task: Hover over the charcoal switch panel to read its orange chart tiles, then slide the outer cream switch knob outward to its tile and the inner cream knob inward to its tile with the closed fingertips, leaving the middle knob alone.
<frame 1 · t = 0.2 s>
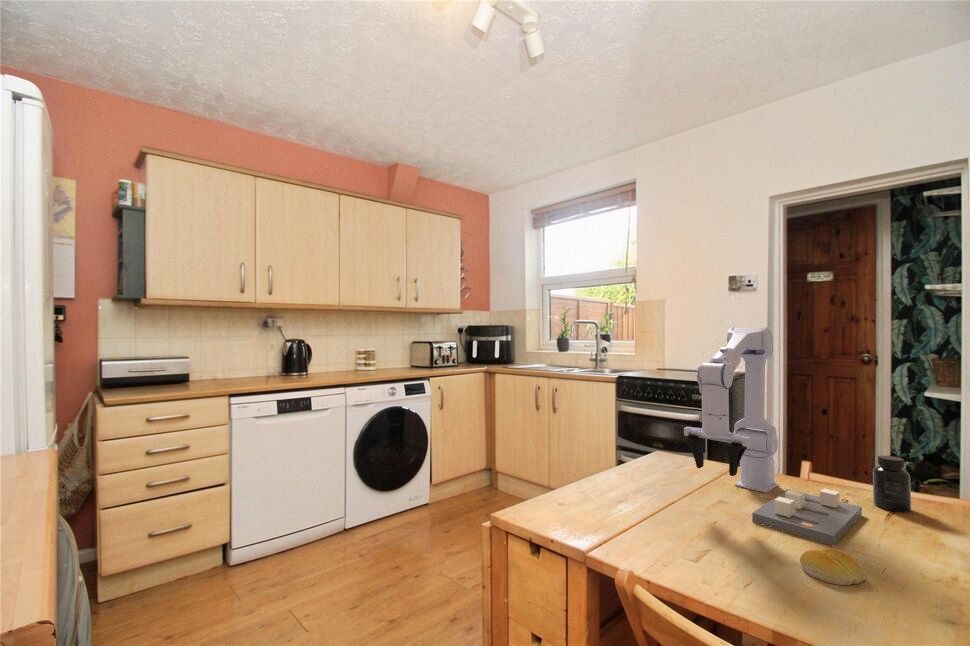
hand: (716, 471, 107), 10 cm above the table, tool pointing down, fingers open, 7 cm apart
switch panel: (807, 518, 104), on the table
bread roll: (831, 575, 81), on the table
supplement bottle: (891, 508, 110), on the table
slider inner: (829, 498, 107), point 4 cm above the table, slide at 5.0 cm
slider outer: (784, 506, 102), point 4 cm above the table, slide at 0.0 cm
slider middle: (794, 499, 106), point 4 cm above the table, slide at 0.0 cm
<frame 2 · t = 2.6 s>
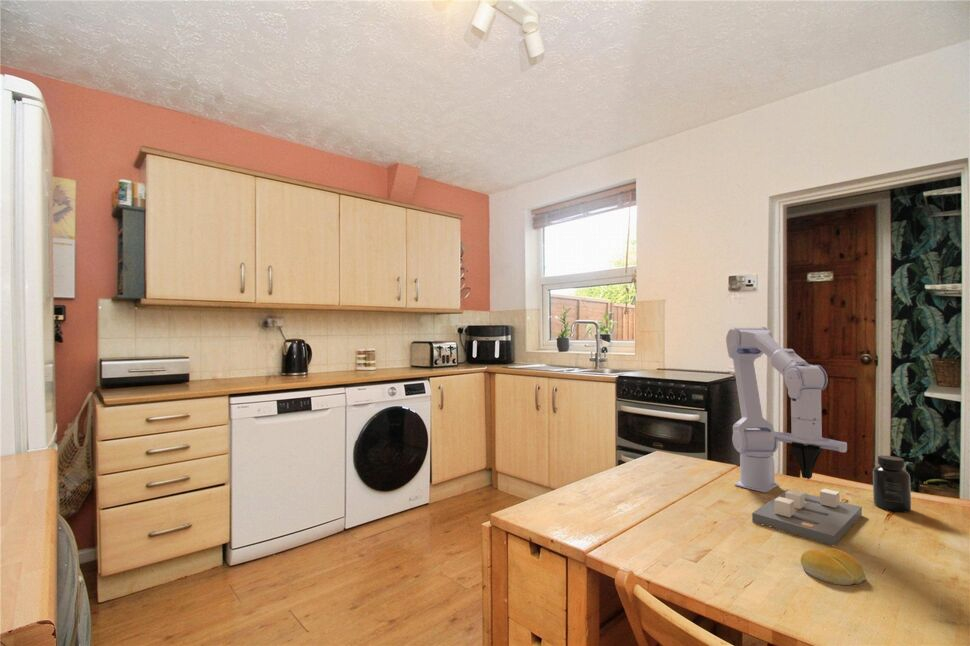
hand: (807, 477, 104), 9 cm above the table, tool pointing down, fingers closed
nothing on the table moved.
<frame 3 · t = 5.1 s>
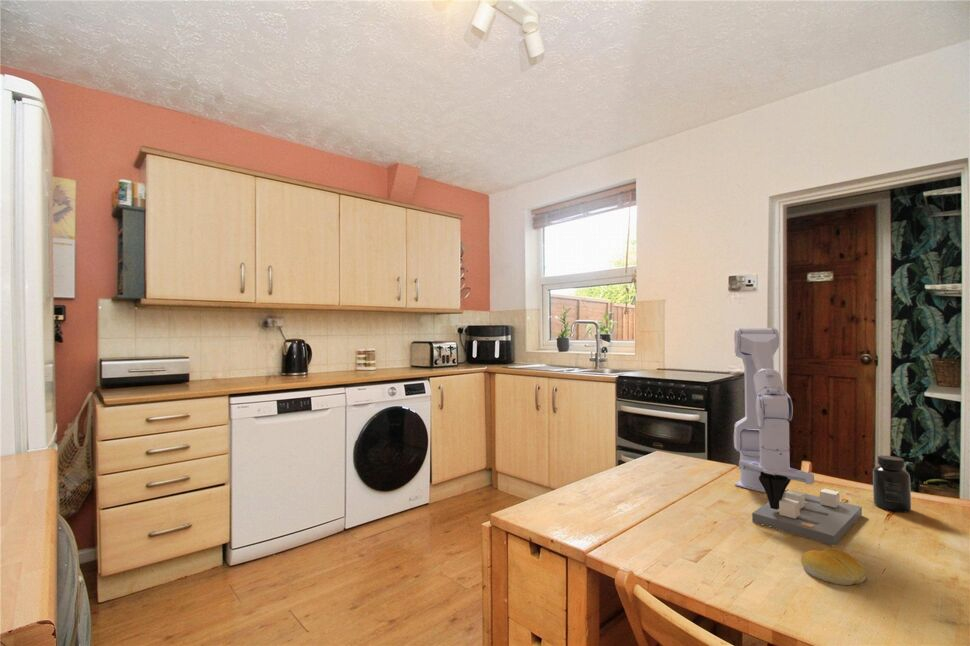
hand: (775, 507, 103), 3 cm above the table, tool pointing down, fingers closed
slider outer: (789, 508, 101), point 4 cm above the table, slide at 1.0 cm, touching gripper
everything else where it was.
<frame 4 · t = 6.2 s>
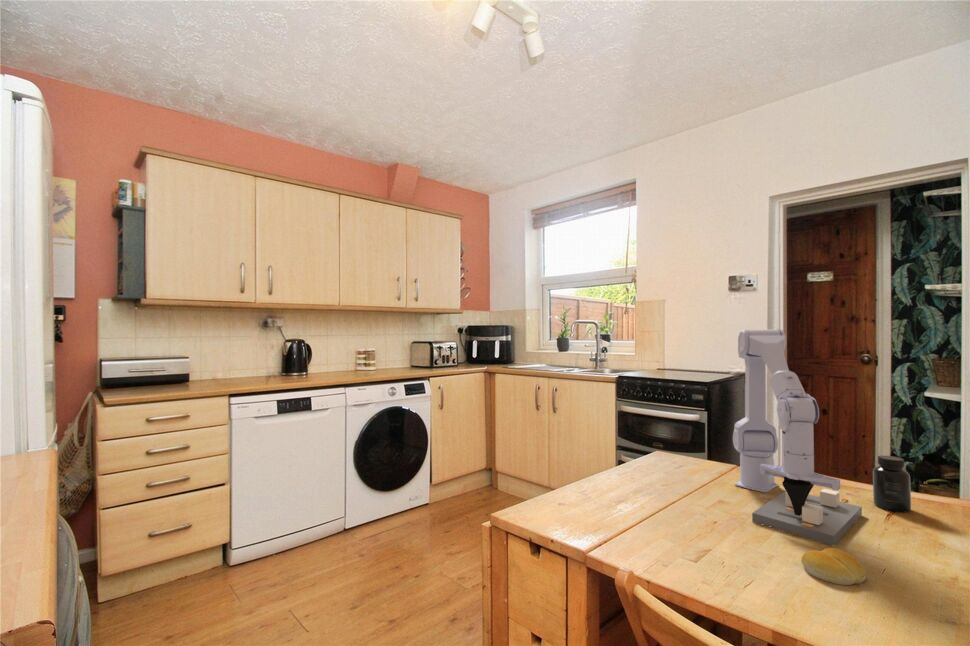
hand: (798, 514, 99), 3 cm above the table, tool pointing down, fingers closed
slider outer: (812, 514, 97), point 4 cm above the table, slide at 5.3 cm, touching gripper
everything else where it was.
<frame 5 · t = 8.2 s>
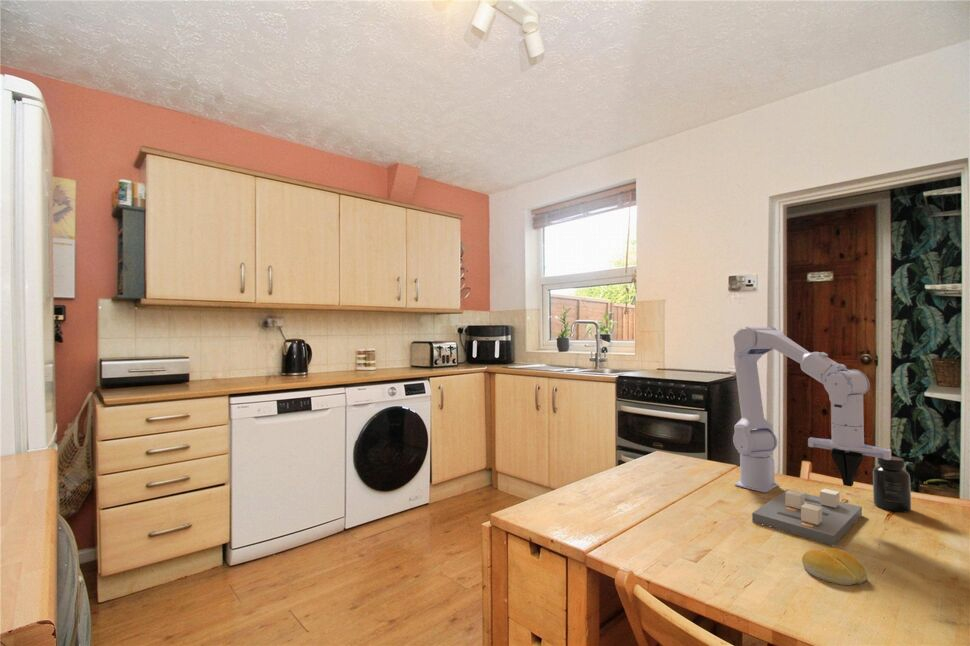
hand: (848, 484, 102), 8 cm above the table, tool pointing down, fingers closed
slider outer: (811, 513, 98), point 4 cm above the table, slide at 5.1 cm
everything else where it was.
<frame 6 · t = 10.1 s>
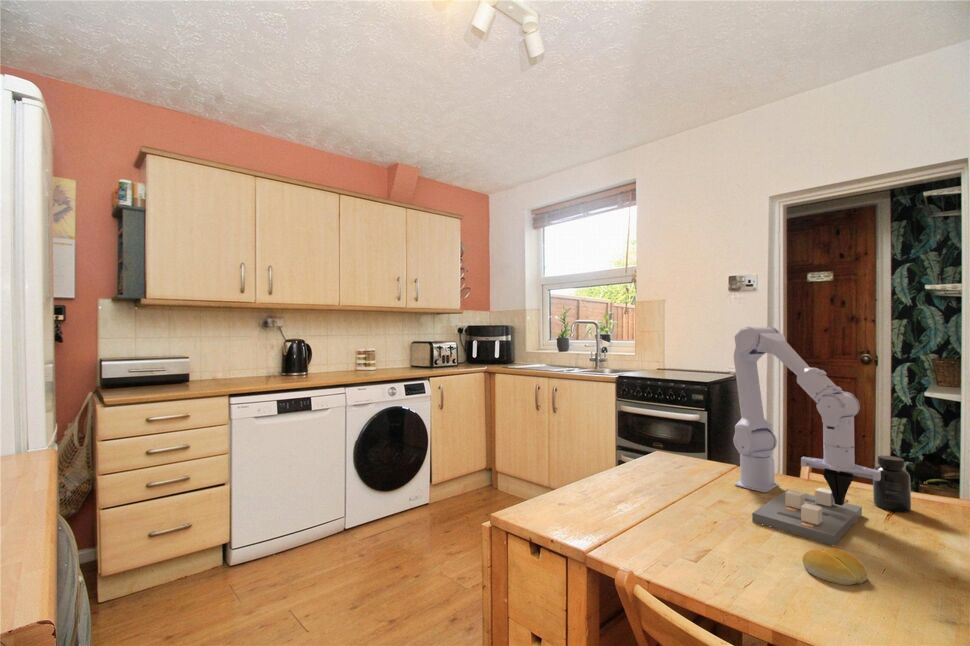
hand: (839, 503, 105), 3 cm above the table, tool pointing down, fingers closed
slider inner: (824, 496, 107), point 4 cm above the table, slide at 4.0 cm, touching gripper
everything else where it was.
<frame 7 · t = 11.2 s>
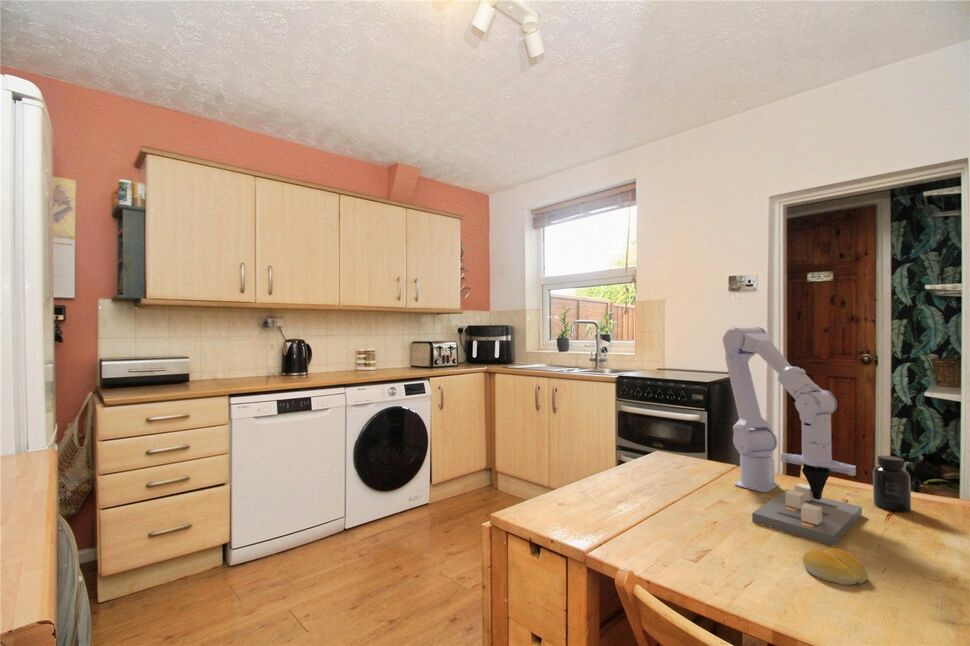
hand: (817, 498, 108), 3 cm above the table, tool pointing down, fingers closed
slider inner: (804, 492, 111), point 4 cm above the table, slide at -0.1 cm, touching gripper
everything else where it was.
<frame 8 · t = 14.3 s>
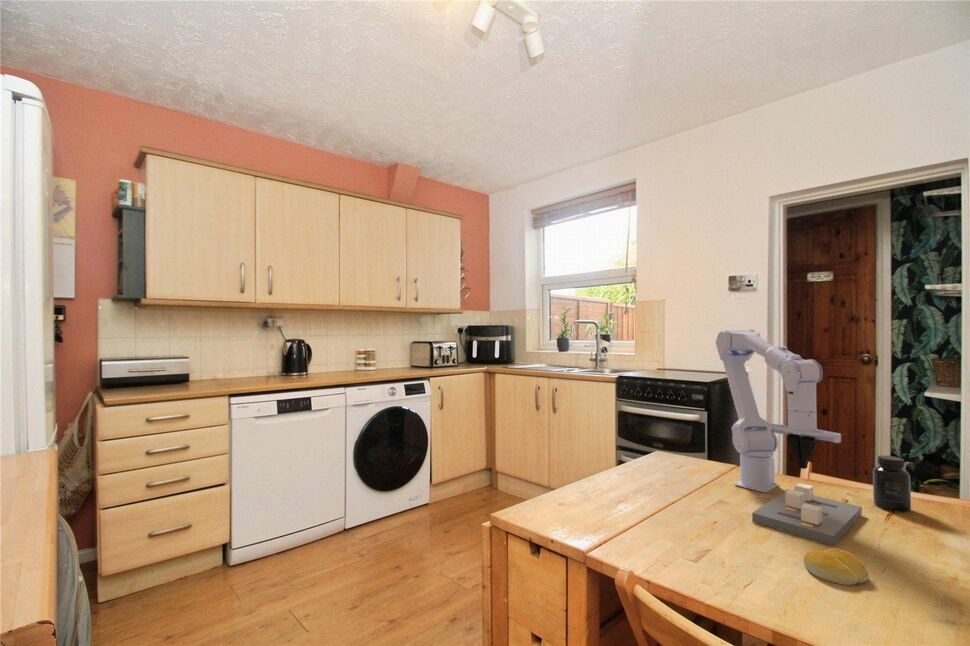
hand: (802, 467, 108), 10 cm above the table, tool pointing down, fingers closed
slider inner: (804, 492, 111), point 4 cm above the table, slide at -0.1 cm
everything else where it was.
at the end: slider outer slide at 5.1 cm; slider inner slide at -0.1 cm; slider middle slide at 0.0 cm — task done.
